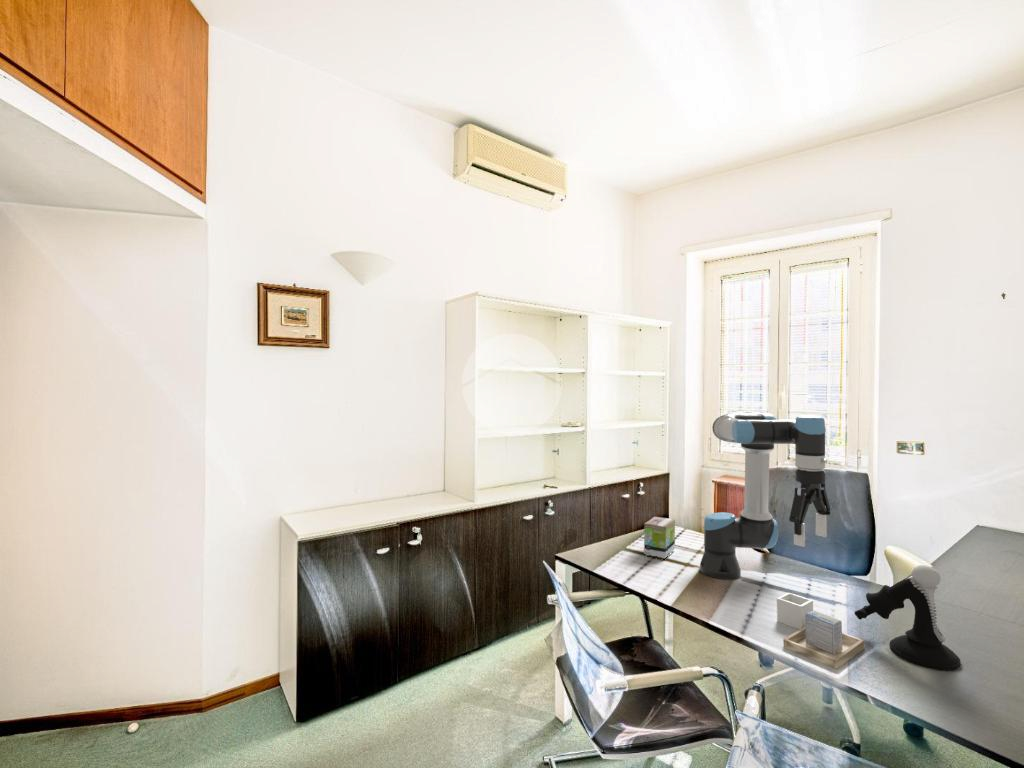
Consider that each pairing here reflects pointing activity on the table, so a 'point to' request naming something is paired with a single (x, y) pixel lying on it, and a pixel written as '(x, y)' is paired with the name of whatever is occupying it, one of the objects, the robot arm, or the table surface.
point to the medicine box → (823, 632)
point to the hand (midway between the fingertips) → (810, 540)
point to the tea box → (659, 537)
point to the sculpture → (915, 620)
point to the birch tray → (800, 646)
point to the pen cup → (793, 610)
